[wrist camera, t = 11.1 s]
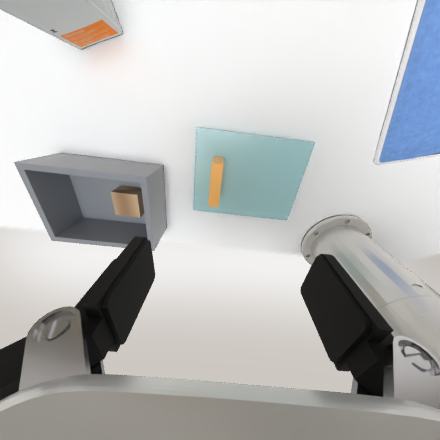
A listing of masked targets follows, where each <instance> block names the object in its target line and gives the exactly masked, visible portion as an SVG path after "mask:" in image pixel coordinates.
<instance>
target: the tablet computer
mask: <svg viewBox="0 0 440 440" xmlns="http://www.w3.org/2000/svg"><path fill="white" fill-rule="evenodd" d="M434 156H440V0H418V3H417V7H416V11H415V14H414V18H413V22H412V26H411V29H410V33H409V37H408V40H407V44H406V47H405V51H404V55H403V58H402V62H401V65H400V69H399V73H398V76H397V80H396V83H395V87H394V90H393V94H392V97H391V101H390V105H389V108H388V112H387V115H386V119H385V122H384V125H383V129H382V132H381V136H380V139H379V142H378V146H377V150H376V153H375V156H374V160H373V162H374V164H377V165H381V164H388V163H394V162H401V161H408V160H414V159H421V158H428V157H434Z"/></svg>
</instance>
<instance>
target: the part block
mask: <svg viewBox="0 0 440 440" xmlns="http://www.w3.org/2000/svg"><path fill="white" fill-rule="evenodd" d="M111 196H112V200H113V205H114V209H115V214H116V215H122V216H131V217H141V216H142V215H143V214H144V205H143V197H142V189H141V188H139V187H130V186H122V185H121V186H119V187H118V188H116V189H114V190H113V191H111Z"/></svg>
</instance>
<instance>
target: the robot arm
mask: <svg viewBox="0 0 440 440" xmlns="http://www.w3.org/2000/svg"><path fill="white" fill-rule="evenodd" d="M371 236H372V233H371V229H370V227H369V226H368V225H367V224H366V223H365V222H364V221H362V220H361V219H359V218H357V217H354V216H349V215H340V216H335V217H331V218H328V219H326V220H324V221H321V222H320V223H318V224H317V225H315V226H314V227H313V228H312V229H311V230H309V232H308V233H307V234H306V235H305V237H304V239H303V242H302V246H301V250H302V254H303V256H304V258H305V259H306V261H307V262H308V263H309V264H311V265H312V266H311V268H310V270H309V272H308V274H307V276H306V278H305V280H304V282H303V284H302V286H301V294H302V297H303V299H304V301H305V304H306V306H307V308H308V310H309V313H310V315H311V317H312V320H313V322H314V324H315V326H316V329H317V331H318V333H319V336H320V338H321V340H322V343H323V345H324V347H325V350H326V352H327V354H328V357H329V358H330V360H331V361H332V362H334V364H335V367H336V369H337V370H339V371H351V373H352V375H353V382H352V389H351V393H340V392H329V391H318V390H306V389H295V388H284V387H272V386H260V385H248V384H247V385H246V384H235V383H222V382H210V381H198V380H197V381H196V380H184V379H172V378H159V377H145V376H127V375H109V374H108V375H107V374H105V372H104V365H103V359H104V358H105V356H106V354H107V352H108V351H114V352H117V351H118V349H119V347H120V345H121V344H124V343H125V341H126V340H127V337H128V335H129V333H130V331H131V329H132V326H133V324H134V322H135V320H136V318H137V316H138V313H139V312H140V309H141V307H142V305H143V303H144V301H145V299H146V296H147V294H148V292H149V290H150V288H151V285H152V283H153V281H154V278H155V270H154V263H153V256H152V248H151V242H150V240H148V239H147V237H140V236H135V237H134V238H133V239H132V240H131V242H130V243H129V244H128V245H127V247H126V248H125V249H124V250H123V252H122V253H121V254H120V255H119V256H118V258H117V259H115V260H114V261H112V262H111V264H110V265H109V266H108V267H107V269H106V270H105V271H104V272H103V273H102V274H101V276H100V277H99V278H98V280H97V281H96V282H95V283H94V284H93V285H92V287H91V288H90V289H89V290H88V291H87V293H86V294H85V295H84V297H83V298H82V299H81V300H80V301H79V303H78V304H77V305H76V306H75V307H70V306H69V307H62V308H59V309H56V310H53V311H51V312H49V313H47V314H46V315H45V316H43V317H42V318H40V319H39V320H38V321H37V322H36V323H35V324H34V325H33V326H32V328H31V329H30V330H29V332H28V335H27V337H25V338H23V339H21V340H19V341H17V342H15V343H13V344H11V345H9V346H7V347H5V348H3V349H0V440H440V295H439V294H438V293H437V292H435V291H434V290H433V289H432V288H431V287H429V286H428V285H427V284H426V283H424V282H423V281H422V280H421V279H419V278H418V277H417V276H416V275H414V274H413V273H412V272H411V271H410V270H408V269H407V268H406V267H405V266H403V265H402V264H401V263H400V262H398V261H397V260H396V259H395V258H394V257H392V256H391V255H390V254H389V253H387V252H386V251H385V250H384V249H382V248H381V247H380V246H379V245H377V244H376V243H375V242H374V241H372V240H371Z"/></svg>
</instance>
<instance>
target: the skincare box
mask: <svg viewBox="0 0 440 440" xmlns="http://www.w3.org/2000/svg"><path fill="white" fill-rule="evenodd" d="M0 9H1V10H3V11H5V12H7V13H9V14H11V15H13V16H15V17H17V18H19V19H21V20H23V21H25V22H27V23H28V24H30V25H32V26H34V27H36V28H38V29H40V30H43V31H44V32H46V33H48V34H50V35H53V36H55V37H56V38H58V39H60V40H62V41H64V42H66V43H68V44H70V45H72V46H74V47H76V48H78V49H83V48H85V47H87V46H90V45H93V44H95V43H98V42H100V41H103V40H106V39H109V38H112V37H115V36H118V35H121V34H123V31H122V29H121V26H120V23H119V21H118V18H117V15H116V13H115V10H114V7H113V5H112V2H111V0H0Z"/></svg>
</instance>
